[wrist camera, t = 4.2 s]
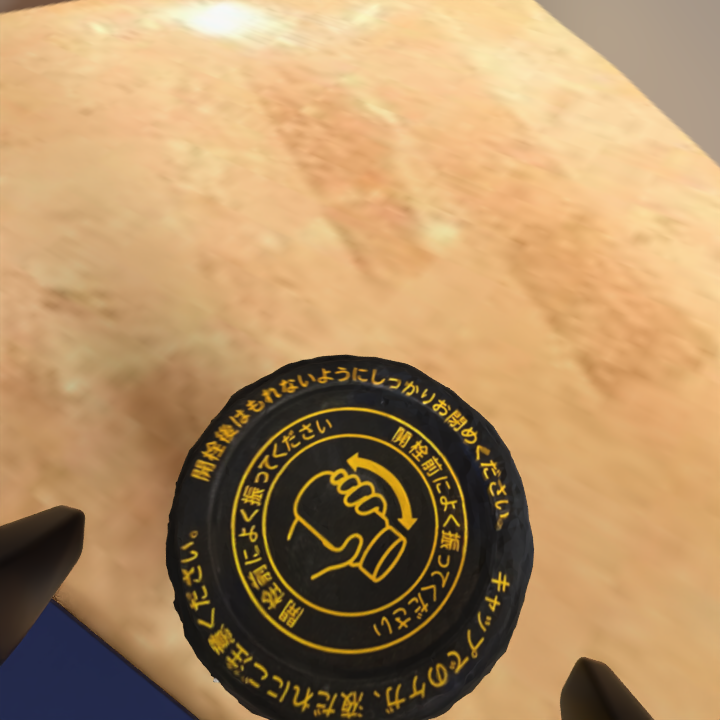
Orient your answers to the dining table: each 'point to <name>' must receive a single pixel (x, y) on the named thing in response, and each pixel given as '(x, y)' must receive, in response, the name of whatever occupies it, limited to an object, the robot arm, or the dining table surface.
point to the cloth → (77, 677)
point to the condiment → (349, 543)
